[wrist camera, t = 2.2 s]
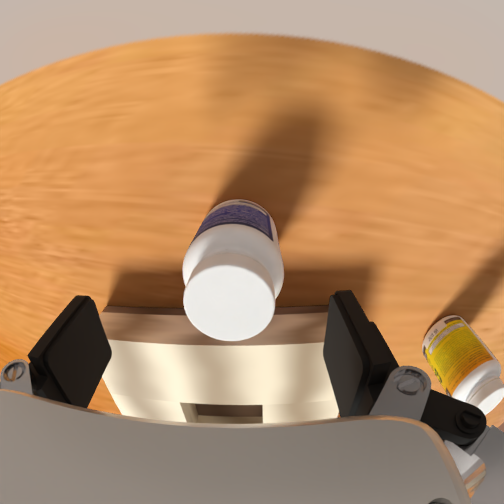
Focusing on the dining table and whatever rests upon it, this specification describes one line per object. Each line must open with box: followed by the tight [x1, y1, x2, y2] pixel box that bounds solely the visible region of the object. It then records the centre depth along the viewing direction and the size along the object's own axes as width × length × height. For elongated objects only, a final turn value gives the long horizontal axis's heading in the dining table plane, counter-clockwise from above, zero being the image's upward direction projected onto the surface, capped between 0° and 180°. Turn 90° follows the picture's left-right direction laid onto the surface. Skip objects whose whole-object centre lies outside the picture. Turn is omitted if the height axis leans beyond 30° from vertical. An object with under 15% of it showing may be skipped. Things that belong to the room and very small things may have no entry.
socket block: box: [99, 305, 339, 424], centre depth 24 cm, size 20×20×4 cm
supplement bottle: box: [422, 315, 504, 415], centre depth 19 cm, size 6×6×10 cm
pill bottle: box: [183, 199, 284, 341], centre depth 16 cm, size 5×5×9 cm
